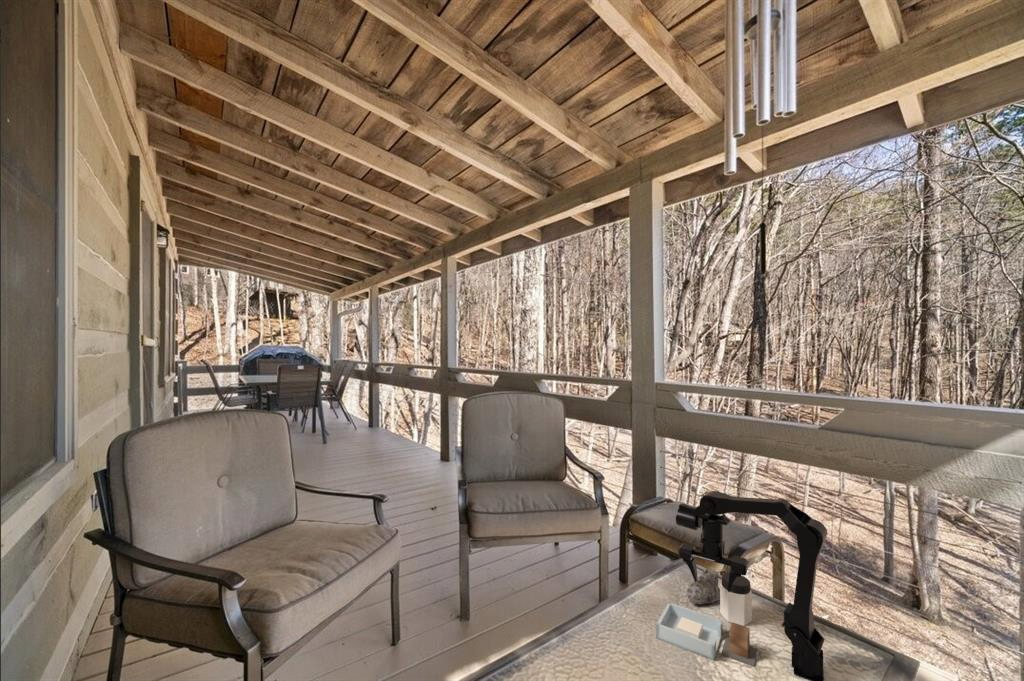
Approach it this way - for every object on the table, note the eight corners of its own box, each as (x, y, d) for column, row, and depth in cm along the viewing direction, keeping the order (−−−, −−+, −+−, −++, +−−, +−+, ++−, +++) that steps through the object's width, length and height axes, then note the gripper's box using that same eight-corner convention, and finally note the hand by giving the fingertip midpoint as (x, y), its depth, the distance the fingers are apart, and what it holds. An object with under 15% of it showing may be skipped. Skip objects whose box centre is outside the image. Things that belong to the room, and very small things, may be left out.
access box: (722, 633, 128) (722, 620, 128) (714, 660, 117) (714, 646, 117) (668, 614, 137) (668, 602, 137) (656, 638, 126) (656, 624, 126)
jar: (741, 629, 130) (741, 589, 130) (715, 615, 137) (715, 577, 137) (756, 619, 135) (756, 581, 135) (731, 606, 142) (731, 569, 142)
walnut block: (749, 649, 121) (749, 627, 121) (747, 658, 117) (747, 636, 117) (731, 643, 123) (731, 622, 123) (729, 652, 120) (729, 630, 120)
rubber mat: (757, 649, 121) (757, 648, 121) (754, 666, 115) (754, 665, 115) (725, 638, 126) (725, 637, 126) (721, 654, 119) (721, 653, 119)
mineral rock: (689, 607, 141) (689, 577, 141) (677, 589, 152) (677, 560, 152) (729, 609, 140) (729, 578, 141) (714, 590, 151) (714, 561, 151)
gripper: (750, 533, 132) (750, 584, 131) (686, 519, 142) (686, 566, 142) (745, 547, 122) (745, 602, 122) (677, 530, 133) (677, 581, 133)
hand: (712, 586), depth 130 cm, fingers open, 9 cm apart
